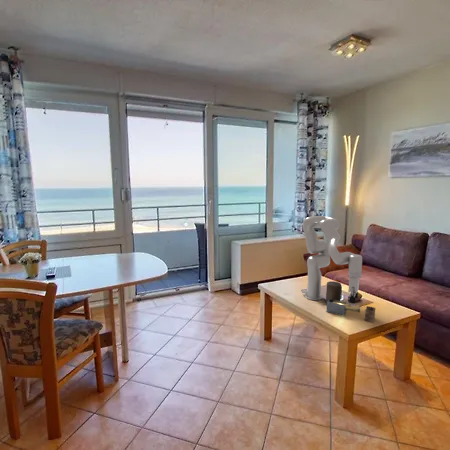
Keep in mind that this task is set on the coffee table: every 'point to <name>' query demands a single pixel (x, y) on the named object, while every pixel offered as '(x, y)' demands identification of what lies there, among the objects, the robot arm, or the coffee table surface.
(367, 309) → the socket
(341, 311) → the grey rectangular block
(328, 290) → the pillar candle
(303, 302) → the coffee table surface
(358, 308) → the tube
